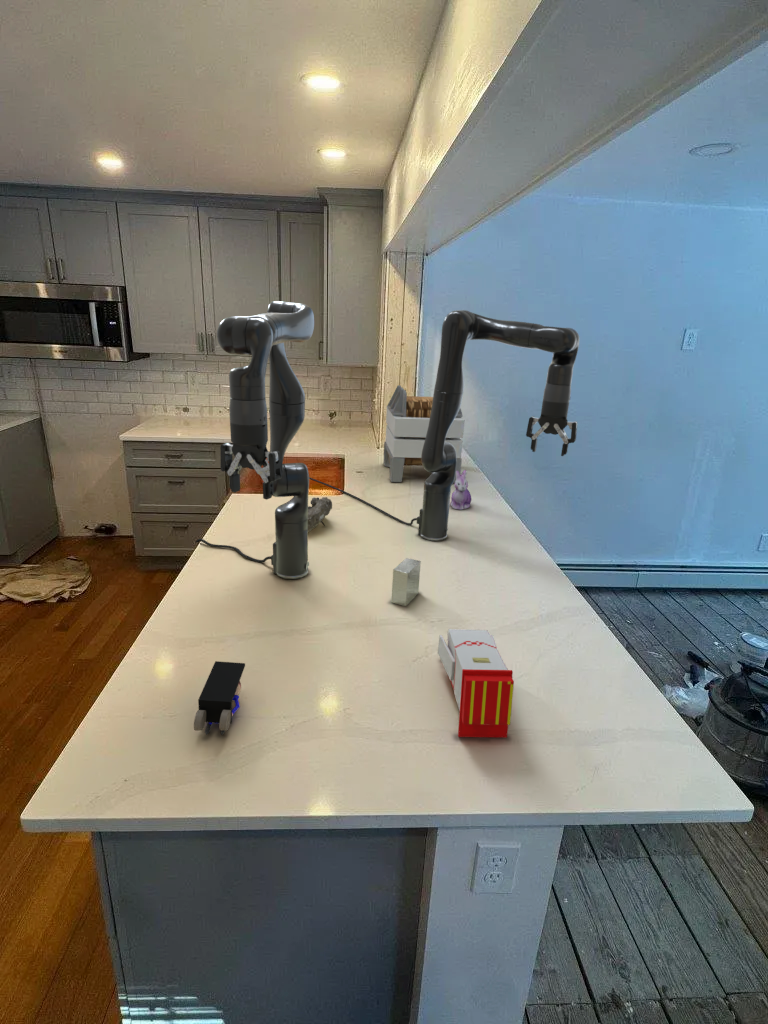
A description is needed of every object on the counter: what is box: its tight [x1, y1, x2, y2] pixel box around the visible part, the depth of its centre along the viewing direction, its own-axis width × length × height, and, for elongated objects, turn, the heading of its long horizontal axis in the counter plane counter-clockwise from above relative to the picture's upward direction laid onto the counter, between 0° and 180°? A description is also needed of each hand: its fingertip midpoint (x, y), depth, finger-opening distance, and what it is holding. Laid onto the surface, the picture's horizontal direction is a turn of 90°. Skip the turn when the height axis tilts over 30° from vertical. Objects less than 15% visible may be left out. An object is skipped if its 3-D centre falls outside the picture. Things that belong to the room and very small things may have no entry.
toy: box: [437, 628, 515, 738], centre depth 117 cm, size 12×13×30 cm
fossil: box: [308, 496, 333, 533], centre depth 202 cm, size 22×10×15 cm
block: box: [391, 557, 422, 607], centre depth 154 cm, size 4×9×10 cm, turn 154°
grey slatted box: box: [383, 384, 465, 484], centre depth 268 cm, size 34×33×41 cm
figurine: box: [450, 469, 472, 511], centre depth 228 cm, size 9×10×15 cm
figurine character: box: [193, 660, 246, 736], centre depth 107 cm, size 7×8×15 cm
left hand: (251, 494), depth 122 cm, fingers open, 8 cm apart
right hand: (548, 453), depth 171 cm, fingers open, 8 cm apart
